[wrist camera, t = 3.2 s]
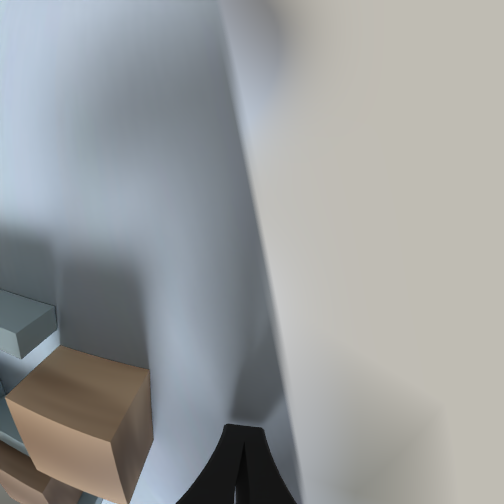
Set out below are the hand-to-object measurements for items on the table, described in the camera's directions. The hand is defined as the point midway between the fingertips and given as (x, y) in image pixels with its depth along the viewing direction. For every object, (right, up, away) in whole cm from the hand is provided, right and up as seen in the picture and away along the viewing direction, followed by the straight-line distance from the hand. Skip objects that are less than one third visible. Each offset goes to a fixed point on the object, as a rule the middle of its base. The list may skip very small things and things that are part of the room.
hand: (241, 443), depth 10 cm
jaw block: (-6, +1, +1) cm, 6 cm away
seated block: (-11, -5, +2) cm, 12 cm away
